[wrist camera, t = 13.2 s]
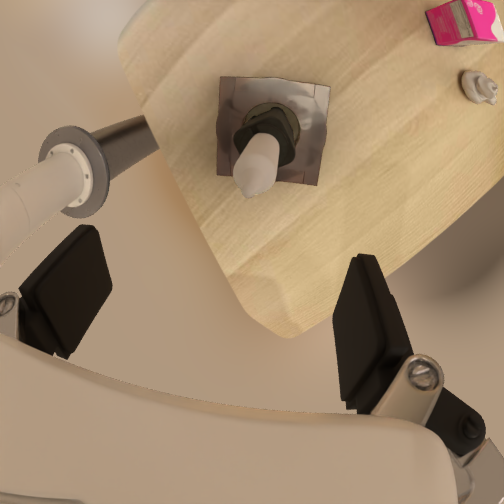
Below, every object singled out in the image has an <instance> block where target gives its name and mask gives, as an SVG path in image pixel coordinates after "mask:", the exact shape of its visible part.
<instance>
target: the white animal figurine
mask: <svg viewBox="0 0 504 504" xmlns="http://www.w3.org/2000/svg"><path fill="white" fill-rule="evenodd" d="M462 87H463V89H464V91H465V93H466V95H467V97H468V98H469V99H470V100H471V101H472V102H474V103H476V104H479V103H481V102H482V101H484V102H487V103H489V104H491V105H495V104H496V102H497V99H496V97H495V96H496V94H497V90H498V85H497V84H496V83H495V82H494V81H493V80H492V79H490V78H487V76H486V75H485V74H484V73H482V72H480V71H465V72H464V74H463V76H462Z"/></svg>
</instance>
